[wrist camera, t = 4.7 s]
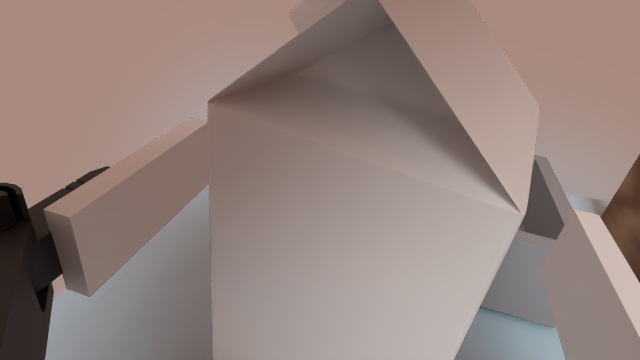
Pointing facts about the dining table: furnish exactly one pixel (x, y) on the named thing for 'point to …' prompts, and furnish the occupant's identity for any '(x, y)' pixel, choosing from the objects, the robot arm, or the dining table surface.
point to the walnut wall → (626, 218)
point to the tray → (531, 251)
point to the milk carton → (366, 184)
